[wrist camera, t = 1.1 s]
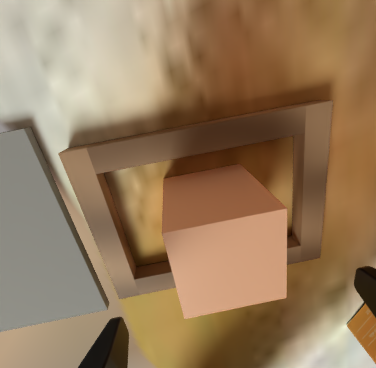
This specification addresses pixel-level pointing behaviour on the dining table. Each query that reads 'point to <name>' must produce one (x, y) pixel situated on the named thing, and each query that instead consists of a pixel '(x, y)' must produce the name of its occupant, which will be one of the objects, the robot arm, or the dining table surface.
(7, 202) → the mat
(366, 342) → the small box
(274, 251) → the block
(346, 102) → the dining table surface
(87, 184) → the holder
